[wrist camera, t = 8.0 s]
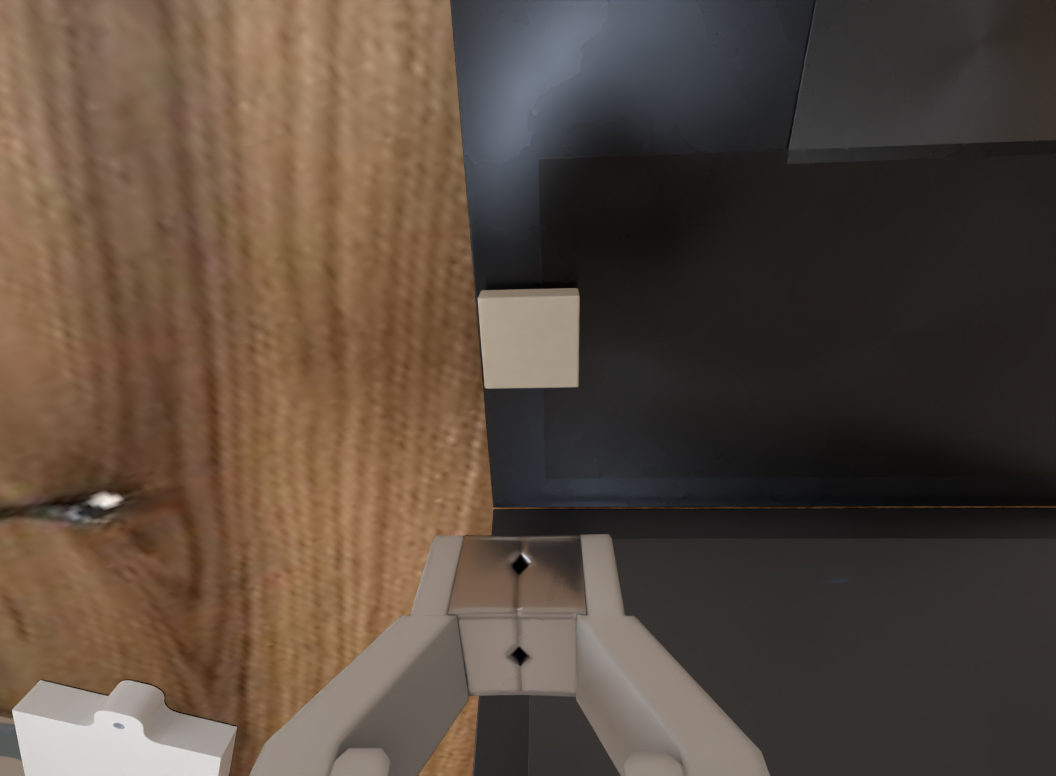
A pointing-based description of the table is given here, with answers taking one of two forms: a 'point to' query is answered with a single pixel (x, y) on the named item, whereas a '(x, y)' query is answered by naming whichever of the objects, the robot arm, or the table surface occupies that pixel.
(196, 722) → the mounting plate
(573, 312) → the off-white flat block
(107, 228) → the table surface
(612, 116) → the laptop
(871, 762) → the laptop screen
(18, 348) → the table surface
